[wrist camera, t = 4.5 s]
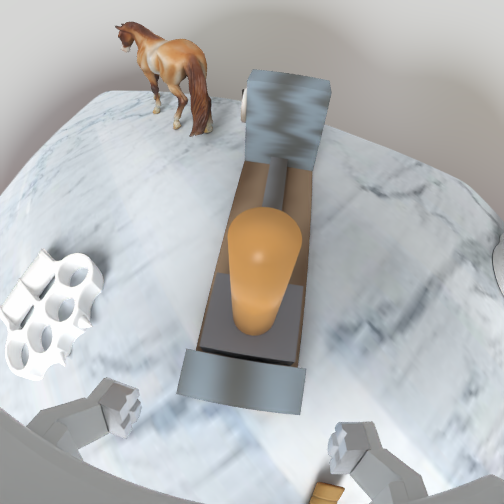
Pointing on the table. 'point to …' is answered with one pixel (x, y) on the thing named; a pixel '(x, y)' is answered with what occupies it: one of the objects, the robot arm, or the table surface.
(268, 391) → the walnut rail
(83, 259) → the white brass knuckles
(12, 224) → the table surface
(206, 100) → the horse figurine
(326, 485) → the kendama
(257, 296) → the carriage
